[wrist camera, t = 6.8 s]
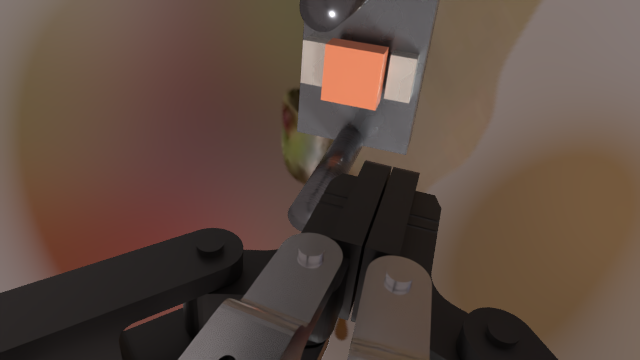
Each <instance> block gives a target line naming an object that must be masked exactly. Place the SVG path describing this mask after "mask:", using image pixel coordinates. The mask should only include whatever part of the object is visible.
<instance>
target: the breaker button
mask: <svg viewBox="0 0 640 360" xmlns="http://www.w3.org/2000/svg"><path fill="white" fill-rule="evenodd" d="M388 49H389V47H385V46H379V45H373V44H367V43H361V42H355V41H349V40H343V39H337V38H332V39H331V40H330V41H329V42H328V43H326V45H325V57H324V68H323V79H322V90H321V100H324V101H329V102H334V103H339V104H344V105H349V106H354V107H359V108H364V109H369V110H374V111H375V110H376V108H377V106H378V104H379V103H380V99H381V93H382V87H383V80H384V74H385V68H386V62H387V56H388Z"/></svg>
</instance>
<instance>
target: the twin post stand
mask: <svg viewBox="0 0 640 360" xmlns="http://www.w3.org/2000/svg"><path fill="white" fill-rule="evenodd" d="M438 5H439V0H300V13H301V16H302V18H303V20H304V32H303V48H302V50H303V51H302V64H301V81H300V96H299V112H298V128H297V132H302V133H307V134H311V135H316V136H321V137H325V138H330V139H335V140H334V141H333V143H332V144H331V146H330V147H329V149H328V150H327V152H326V153H325V155H324V156H323V158H322V160H321V161H320V163H319V164H318V166H317V167H316V169H315V170H314V172H313V173H312V175H311V176H310V178H309V179H308V181H307V182H306V184H305V185H304V187H303V189H302V190H301V192H300V193H299V195H298V196H297V198H296V199H295V201H294V202H293V204H292V205H291V207H290V208H289V211H288V218H289V221H290V223H291V224H292V225H293V226H294V227H295V228H296V229H298V230H299V231H302V230H303V229H304V227H305V225H306V223H307V221H308V220H309V218H310V216H311V214H312V212H313V211H314V209H315V207H316V205H317V204H318V203H319V200H320V198H321V196H322V195H323V194H324V191H325V189H326V187H327V186H328V184H329V182H330V181H331V180H332V179H334V178H336V177H337V176H339V175H341V174H342V173H344V174H348V173H349V171H350V169H351V167H352V166H353V164H354V162H355V160H356V158H357V156H358V154H359V152H360V150H361V148H362V146H367V147H372V148H376V149H381V150H386V151H390V152H395V153H399V154H404V155H406V153H407V150H408V147H409V144H410V140H411V135H412V130H413V125H414V120H415V116H416V111H417V106H418V101H419V96H420V92H421V87H422V82H423V77H424V72H425V68H426V63H427V58H428V53H429V48H430V44H431V39H432V34H433V29H434V24H435V20H436V15H437V10H438ZM332 38H337V39H343V40H349V41H355V42H361V43H367V44H373V45H379V46H385V47H389V49H388V56H387V62H386V68H385V74H384V80H383V87H382V93H381V99H380V103H379V104H378V106H377V108H376V110H375V111H374V110H369V109H364V108H359V107H354V106H349V105H344V104H339V103H334V102H329V101H324V100H321V90H322V79H323V68H324V57H325V45H326V43H328V42H329V41H330V40H331V39H332Z"/></svg>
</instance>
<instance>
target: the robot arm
mask: <svg viewBox="0 0 640 360" xmlns="http://www.w3.org/2000/svg"><path fill="white" fill-rule="evenodd" d="M391 168H392V167H391V166H387V165H383V164H379V163H375V162H371V161H365V162H364V164H363V166H362V169H361V171H360V173H359V175H358V177H357V176H353V175H348V174H344V173H342V174H341V175H339V176H337V177H336V178H334V179H332V180H331V181H330V182H329V184H328V186H327V187H326V189H325V191H324V194H323V195H322V196H321V198H320V200H319V203H318V204H317V205H316V207H315V209H314V211H313V212H312V214H311V216H310V218H309V220H308V221H307V223H306V225H305V227H304V229H303V230H302V232H301V233H300V234H296V235H293V236H291V237H289V238H288V239H286V240H285V241H284V242H283V243H282V245H281V246H280V248H279V249H277V250H268V251H262V250H261V251H260V250H243V244H242V241H241V240H240V238H239V237H238V236H237V235H235V234H234V233H232V232H230V231H227V230H225V229H219V228H207V229H201V230H198V231H195V232H192V233H188V234H185V235H182V236H179V237H176V238H172V239H170V240H166V241H163V242H160V243H157V244H153V245H150V246H147V247H144V248H141V249H138V250H135V251H131V252H128V253H125V254H122V255H119V256H116V257H113V258H110V259H106V260H103V261H100V262H97V263H94V264H90V265H87V266H85V267H81V268H78V269H75V270H72V271H68V272H65V273H62V274H59V275H56V276H53V277H50V278H47V279H43V280H40V281H37V282H34V283H31V284H27V285H24V286H21V287H18V288H15V289H12V290H9V291H5V292H2V293H0V360H322V357H323V355H324V353H325V351H326V349H327V347H328V344H329V340H330V335H331V334H332V332H333V330H334V328H335V325H336V322H337V319H338V317H339V318H342V319H345V320H348V319H349V316H350V313H351V310H352V307H353V304H354V307H353V312H352V318H351V321H352V322H355V327H354V332H353V337H352V341H351V345H350V350H349V354H348V359H347V360H558V359H557V358H556V357H555V356H554V354H553V353H552V352H551V351H550V350H549V349H548V348H547V347H546V345H545V344H544V343H543V342H542V341H541V340H540V339H539V338H538V336H537V335H536V334H535V333H534V332H533V331H532V330H531V329H530V328H529V326H528V325H527V324H526V323H524V322H523V321H522V320H521V319H519V318H518V317H516V316H515V315H513V314H511V313H509V312H506V311H504V310H501V309H496V308H490V307H487V308H479V309H476V310H473V311H472V312H470V313H469V314H468V313H467V312H465V311H463V310H461V309H459V308H458V307H456V306H454V305H453V304H451V303H450V302H448V301H447V300H446V299H444V298H443V297H442V296H441V295H440V294H439V292H438V291H437V290H436V288H435V286H434V284H433V282H432V279H431V278H432V277H431V271H432V264H433V258H434V252H435V245H436V239H437V231H438V226H439V220H440V213H441V207H440V205H439V203H438V201H437V199H436V197H435V195H431V194H427V193H422V192H418V191H415V190H416V186H417V182H418V178H419V174H420V173H417V172H413V171H409V170H405V169H401V168H396V167H393V170H392V172H391ZM390 174H391V175H390ZM354 301H355V302H354ZM180 304H183V308H181V309H178V310H176V311H173V312H171V313H169V314H166V315H163V316H161V317H158V318H156V319H153V320H151V321H148V322H146V323H143V324H141V325H138V326H136V327H133V328H131V329H128V330H126V331H123V330H124V329H125V328H126V327H128V326H129V325H131V324H132V323H135V322H137V321H140V320H142V319H145V318H147V317H149V316H152V315H155V314H157V313H160V312H162V311H165V310H167V309H170V308H172V307H175V306H177V305H180Z"/></svg>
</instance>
